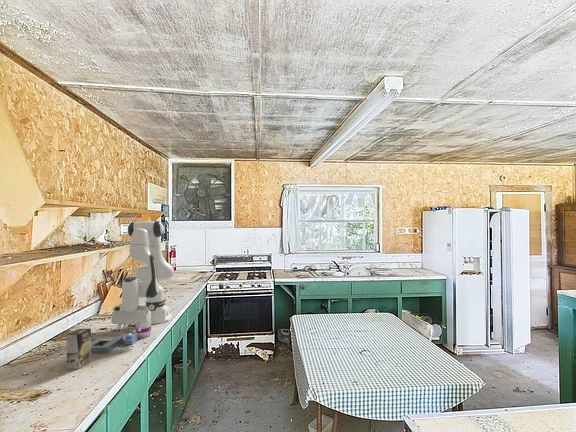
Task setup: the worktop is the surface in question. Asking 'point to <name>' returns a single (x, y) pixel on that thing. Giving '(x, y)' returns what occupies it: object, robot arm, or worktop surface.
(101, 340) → the plate
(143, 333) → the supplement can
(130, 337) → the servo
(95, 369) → the worktop surface
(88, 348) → the coffee box
